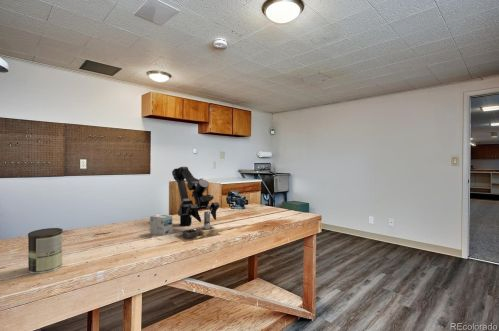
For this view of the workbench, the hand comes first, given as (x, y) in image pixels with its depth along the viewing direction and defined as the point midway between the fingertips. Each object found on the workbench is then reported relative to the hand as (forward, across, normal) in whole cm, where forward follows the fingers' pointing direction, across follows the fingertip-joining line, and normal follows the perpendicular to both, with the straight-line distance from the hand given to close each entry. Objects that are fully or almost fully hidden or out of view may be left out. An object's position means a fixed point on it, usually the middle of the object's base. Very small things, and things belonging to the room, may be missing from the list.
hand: (208, 220), depth 140 cm
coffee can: (+7, -70, +6) cm, 70 cm away
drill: (+4, 0, +6) cm, 8 cm away
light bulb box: (-6, -20, +19) cm, 28 cm away
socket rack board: (+5, -5, +7) cm, 10 cm away
